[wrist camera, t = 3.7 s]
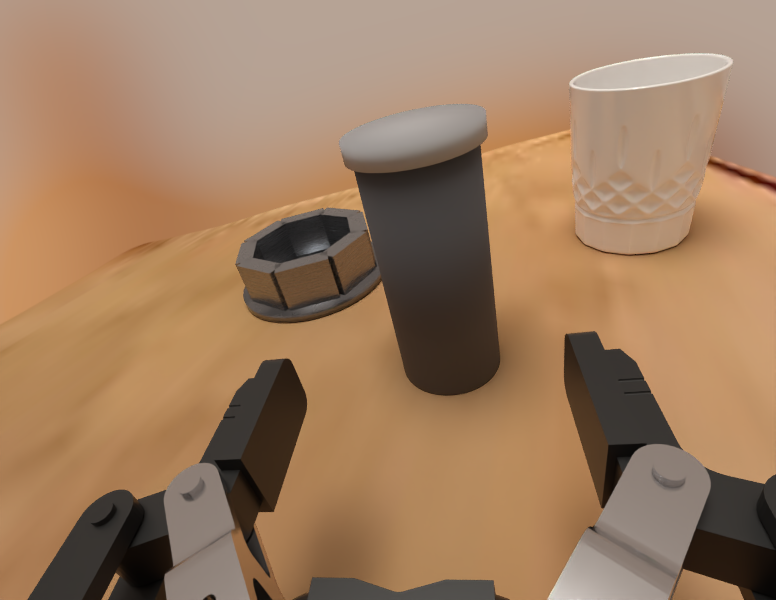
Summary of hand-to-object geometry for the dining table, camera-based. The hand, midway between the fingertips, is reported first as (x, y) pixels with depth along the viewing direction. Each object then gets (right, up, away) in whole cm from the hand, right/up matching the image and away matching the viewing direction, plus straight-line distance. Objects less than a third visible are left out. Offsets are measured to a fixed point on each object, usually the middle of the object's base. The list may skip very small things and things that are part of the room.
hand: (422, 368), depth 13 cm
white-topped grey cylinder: (+2, -1, +10) cm, 11 cm away
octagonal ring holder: (-6, +4, +21) cm, 22 cm away
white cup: (+16, +7, +17) cm, 24 cm away
